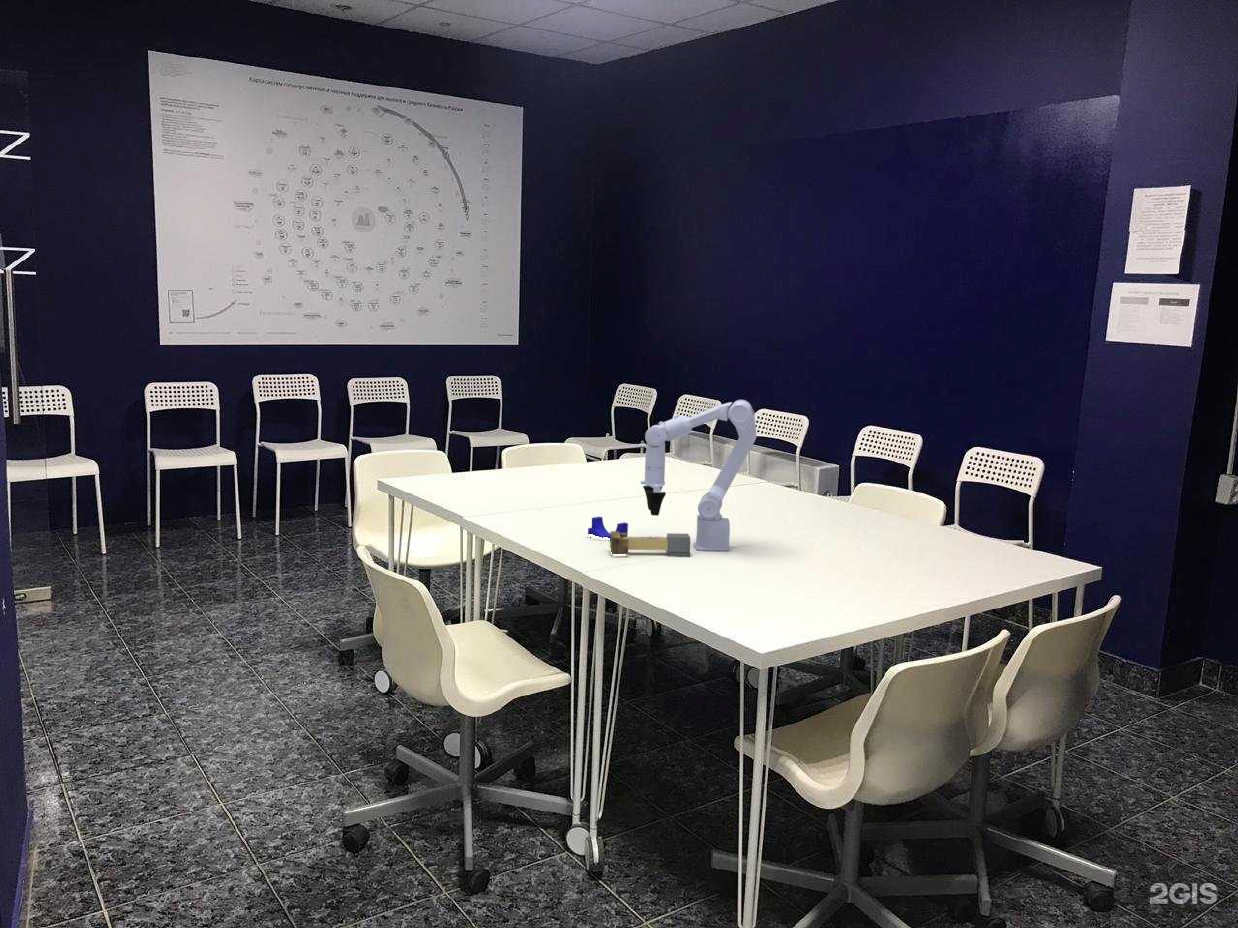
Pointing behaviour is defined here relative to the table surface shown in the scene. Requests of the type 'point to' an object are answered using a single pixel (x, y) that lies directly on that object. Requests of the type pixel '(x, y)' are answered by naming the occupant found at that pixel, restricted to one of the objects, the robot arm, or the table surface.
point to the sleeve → (679, 545)
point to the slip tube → (648, 543)
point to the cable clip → (600, 530)
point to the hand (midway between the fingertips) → (653, 512)
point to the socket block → (618, 543)
